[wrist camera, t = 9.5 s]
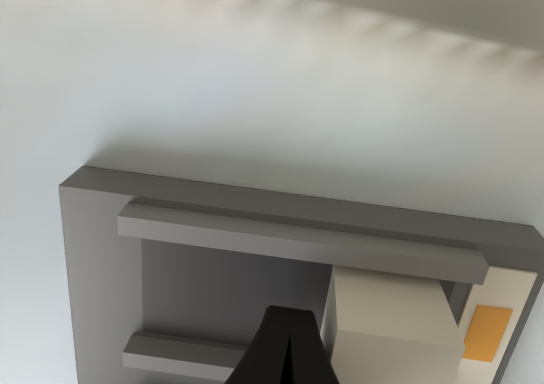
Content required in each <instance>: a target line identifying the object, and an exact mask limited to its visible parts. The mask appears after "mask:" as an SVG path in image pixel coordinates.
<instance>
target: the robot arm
mask: <svg viewBox="0 0 544 384" xmlns="http://www.w3.org/2000/svg"><path fill="white" fill-rule="evenodd" d="M224 384H340V383H339V381H338V379H337V376H336V374H335V372H334V370H333V367H332V365H331V363H330V360H329V358H328V355H327V353H326V350H325V348H324V345H323V342H322V339H321V336H320V333H319V329H318V326H317V322H316V317H315V314H314V313H313V312H312V311H310V310H303V309H296V308H289V307H281V306H274V305H270V306H268V307H267V308H266V311H265V315H264V317H263V320H262V322H261V325H260V327H259V329H258V331H257V333H256V335H255V337H254V338H253V340H252V342H251V344H250V345H249V347H248V349H247V350H246V352H245V354H244V356H243V357H242V359H241V360H240V362H239V363H238V364H237V366H236V367H235V369H234V370H233V372H232V373H231V375H230V376H229V378H228V379H227V380H226V382H225V383H224Z"/></svg>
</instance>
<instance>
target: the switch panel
mask: <svg viewBox="0 0 544 384" xmlns="http://www.w3.org/2000/svg"><path fill="white" fill-rule="evenodd" d="M59 194H60V204H61V214H62V225H63V235H64V245H65V255H66V266H67V276H68V286H69V297H70V307H71V317H72V327H73V338H74V348H75V358H76V368H77V379H78V384H224V383H225V382H226V380H227V379H228V378H229V376H230V375H231V373H232V372H233V370H234V369H235V367H236V366H237V364H238V363H239V362H240V360H241V359H242V357H243V356H244V354H245V352H246V350H247V349H248V347H249V345H250V344H251V342H252V340H253V338H254V337H255V335H256V333H257V331H258V329H259V327H260V325H261V322H262V320H263V317H264V315H265V311H266V308H267V307H268V306H270V305H274V306H281V307H289V308H296V309H303V310H310V311H312V312H313V313H314V314H315V317H316V322H317V326H318V329H319V333H320V331H321V326H322V321H323V316H324V311H325V305H326V300H327V295H328V290H329V285H330V280H331V275H332V269H333V265H339V266H346V267H354V268H361V269H368V270H375V271H383V272H390V273H397V274H404V275H412V276H419V277H426V278H433V279H439V281H440V284H441V286H442V289H443V291H444V294H445V296H446V299H447V302H448V304H449V307H450V309H451V312H452V314H453V317H454V319H455V322H456V324H457V327H458V329H459V332H460V334H461V337H462V339H463V342H464V344H465V347H466V349H465V351H464V354H463V357H462V359H461V362H460V365H459V367H458V370H457V373H456V375H455V378H454V381H453V383H452V384H499V383H500V381H501V378H502V376H503V374H504V371H505V369H506V367H507V365H508V362H509V360H510V358H511V355H512V353H513V351H514V348H515V346H516V344H517V341H518V339H519V337H520V334H521V332H522V330H523V328H524V325H525V323H526V321H527V318H528V316H529V314H530V311H531V309H532V307H533V304H534V302H535V300H536V298H537V295H538V293H539V291H540V288H541V286H542V284H543V281H544V238H543V237H542V236H541V235H540V234H539V232H538V231H537V230H536V229H535V228H534V226H528V225H520V224H513V223H505V222H498V221H490V220H483V219H476V218H468V217H461V216H453V215H446V214H438V213H431V212H423V211H416V210H408V209H401V208H393V207H386V206H378V205H371V204H363V203H356V202H348V201H341V200H333V199H326V198H318V197H311V196H303V195H296V194H288V193H281V192H273V191H266V190H258V189H251V188H243V187H236V186H228V185H221V184H213V183H206V182H198V181H191V180H183V179H176V178H168V177H161V176H153V175H146V174H138V173H131V172H124V171H116V170H109V169H101V168H94V167H86V166H82V167H81V168H79V169H78V170H77V171H76V172H74V173H73V174H72V175H71V176H70V177H68V178H67V179H66V180H65V181H64V182H62V183H61V184H60V185H59Z"/></svg>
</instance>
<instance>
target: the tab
mask: <svg viewBox="0 0 544 384" xmlns="http://www.w3.org/2000/svg"><path fill="white" fill-rule="evenodd" d="M320 336H321V339H322V342H323V345H324V348H325V350H326V353H327V355H328V358H329V360H330V363H331V365H332V367H333V370H334V372H335V374H336V376H337V379H338V381H339V383H340V384H452V383H453V381H454V378H455V375H456V373H457V370H458V367H459V365H460V362H461V359H462V357H463V354H464V351H465V349H466V347H465V344H464V342H463V339H462V337H461V334H460V332H459V329H458V327H457V324H456V322H455V319H454V317H453V314H452V312H451V309H450V307H449V304H448V302H447V299H446V296H445V294H444V291H443V289H442V286H441V284H440V281H439V279H433V278H426V277H419V276H412V275H404V274H397V273H390V272H383V271H375V270H368V269H361V268H354V267H346V266H339V265H333V269H332V275H331V280H330V285H329V290H328V295H327V300H326V305H325V311H324V316H323V321H322V326H321V331H320Z"/></svg>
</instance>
